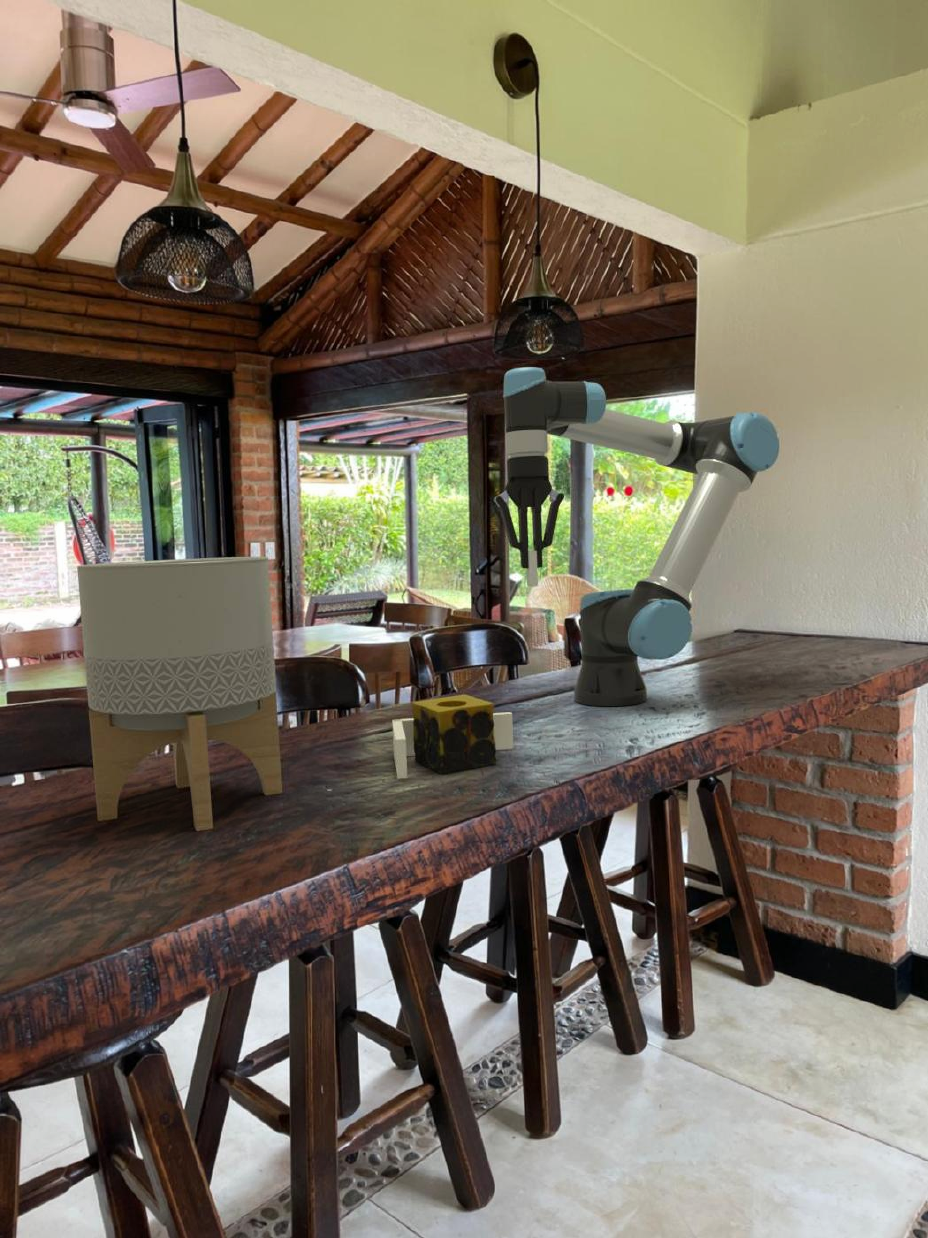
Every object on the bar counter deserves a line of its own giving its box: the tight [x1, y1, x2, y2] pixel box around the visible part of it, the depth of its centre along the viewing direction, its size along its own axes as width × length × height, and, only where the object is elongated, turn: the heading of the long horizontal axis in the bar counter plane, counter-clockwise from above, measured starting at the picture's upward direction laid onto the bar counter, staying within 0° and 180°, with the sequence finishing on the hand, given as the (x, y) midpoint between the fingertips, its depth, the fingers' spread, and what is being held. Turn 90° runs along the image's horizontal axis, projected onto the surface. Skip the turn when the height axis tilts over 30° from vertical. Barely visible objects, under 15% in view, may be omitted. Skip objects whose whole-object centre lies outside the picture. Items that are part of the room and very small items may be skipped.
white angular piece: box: [391, 711, 514, 780], centre depth 144 cm, size 20×15×6 cm
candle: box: [411, 693, 498, 775], centre depth 143 cm, size 10×10×10 cm
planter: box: [76, 556, 283, 832], centre depth 125 cm, size 25×25×34 cm
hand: (532, 586), depth 165 cm, fingers closed
